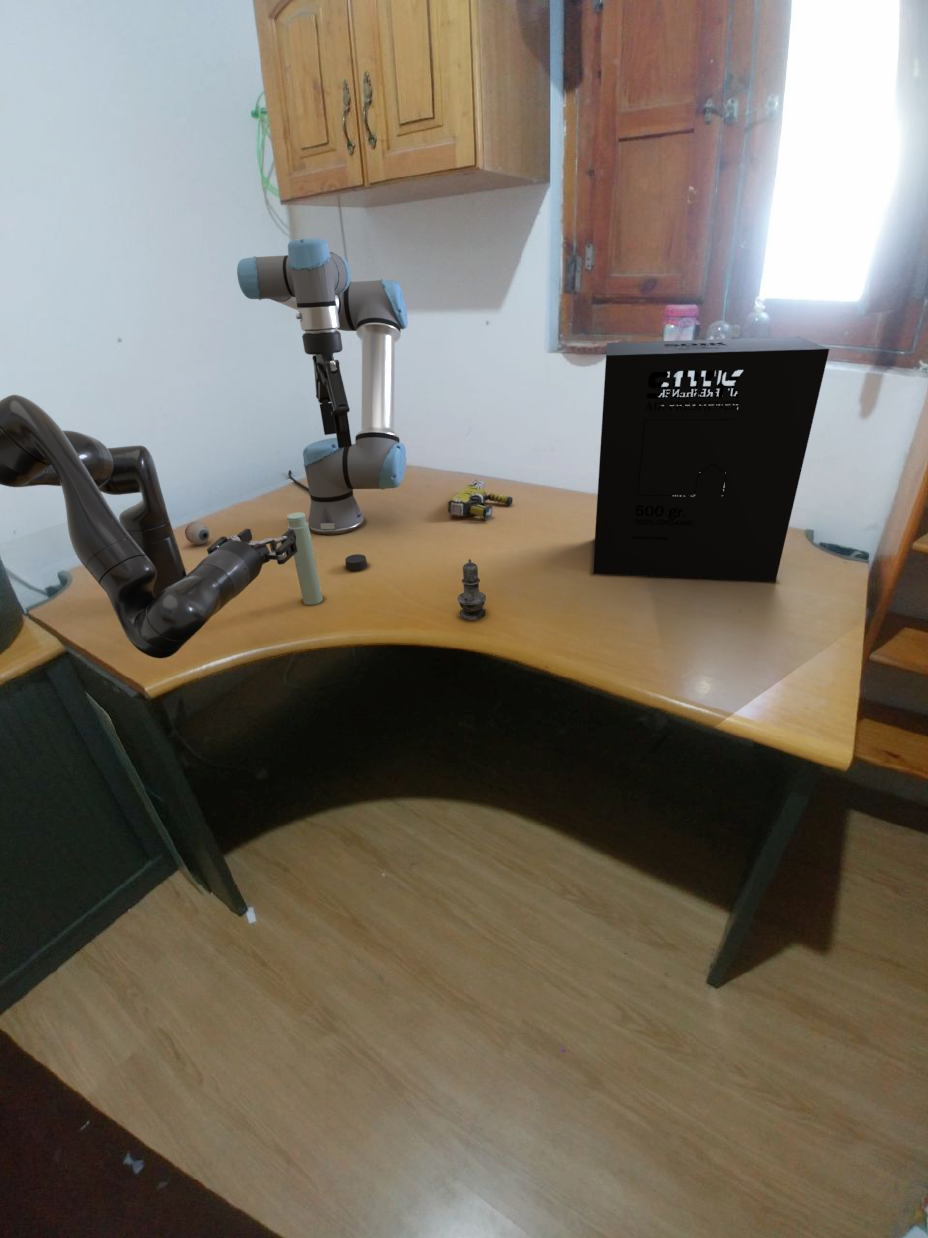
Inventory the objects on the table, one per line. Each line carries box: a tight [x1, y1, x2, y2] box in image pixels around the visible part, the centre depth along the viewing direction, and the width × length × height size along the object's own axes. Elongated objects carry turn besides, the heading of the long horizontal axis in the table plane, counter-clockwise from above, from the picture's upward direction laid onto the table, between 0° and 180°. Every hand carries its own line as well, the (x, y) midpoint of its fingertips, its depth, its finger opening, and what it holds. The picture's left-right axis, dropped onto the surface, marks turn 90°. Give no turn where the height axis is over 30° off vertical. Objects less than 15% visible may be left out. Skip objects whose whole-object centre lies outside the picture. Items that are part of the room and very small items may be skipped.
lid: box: [344, 553, 368, 572], centre depth 144 cm, size 5×5×2 cm
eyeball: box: [184, 521, 211, 546], centre depth 161 cm, size 6×6×6 cm
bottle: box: [286, 511, 324, 606], centre depth 126 cm, size 4×4×19 cm
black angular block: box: [592, 336, 830, 583], centre depth 128 cm, size 38×20×45 cm, turn 78°
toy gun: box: [447, 479, 514, 521], centre depth 175 cm, size 5×24×15 cm
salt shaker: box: [456, 558, 487, 621], centre depth 119 cm, size 6×6×12 cm
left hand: (270, 533), depth 111 cm, fingers open, 8 cm apart
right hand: (337, 440), depth 130 cm, fingers open, 13 cm apart
